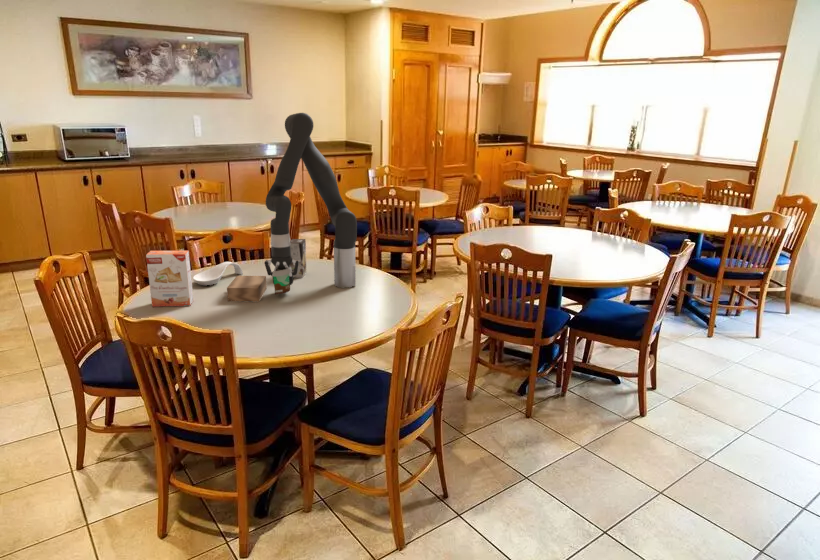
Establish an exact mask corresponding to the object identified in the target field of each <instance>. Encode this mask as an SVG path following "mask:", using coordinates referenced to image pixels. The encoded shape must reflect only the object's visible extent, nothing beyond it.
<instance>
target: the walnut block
mask: <svg viewBox="0 0 820 560" xmlns="http://www.w3.org/2000/svg"><path fill="white" fill-rule="evenodd" d="M267 284H268V283H267V275H236V276H235V278H234V279H233V280H232V281H231V282H230V283H229V285H228V286H227V287H226V293H227V302H236V301H253V302H254V303H255V301H257V302H260V301H261V299H262V297H263V296H264V294H265V293H266V291H267V288H268V287H267ZM262 295H263V296H262ZM253 302H252V303H253Z"/></svg>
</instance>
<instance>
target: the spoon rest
mask: <svg viewBox="0 0 820 560" xmlns="http://www.w3.org/2000/svg"><path fill="white" fill-rule="evenodd" d="M228 266H233V269H234V274H236V275H238V276H243V274H244V273H243V269H242V268H241V266H240V264H239V263H236V262H231V261H223V262H221V263H219V264H217V265H215V266H213V267H211V268H208V269H206V270H204V271H201V272H198V273H196V274H194V275H193V276H192V280H193V281H194V282H195V283H196V284H198V285H200V286H205V287H206V286H207V285H210V286H214V285H216V284H217V283H219V282H220V280H221V279H222V277H223V275H224V274H225V271H226V269H227V268H228ZM213 284H214V285H213Z"/></svg>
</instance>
